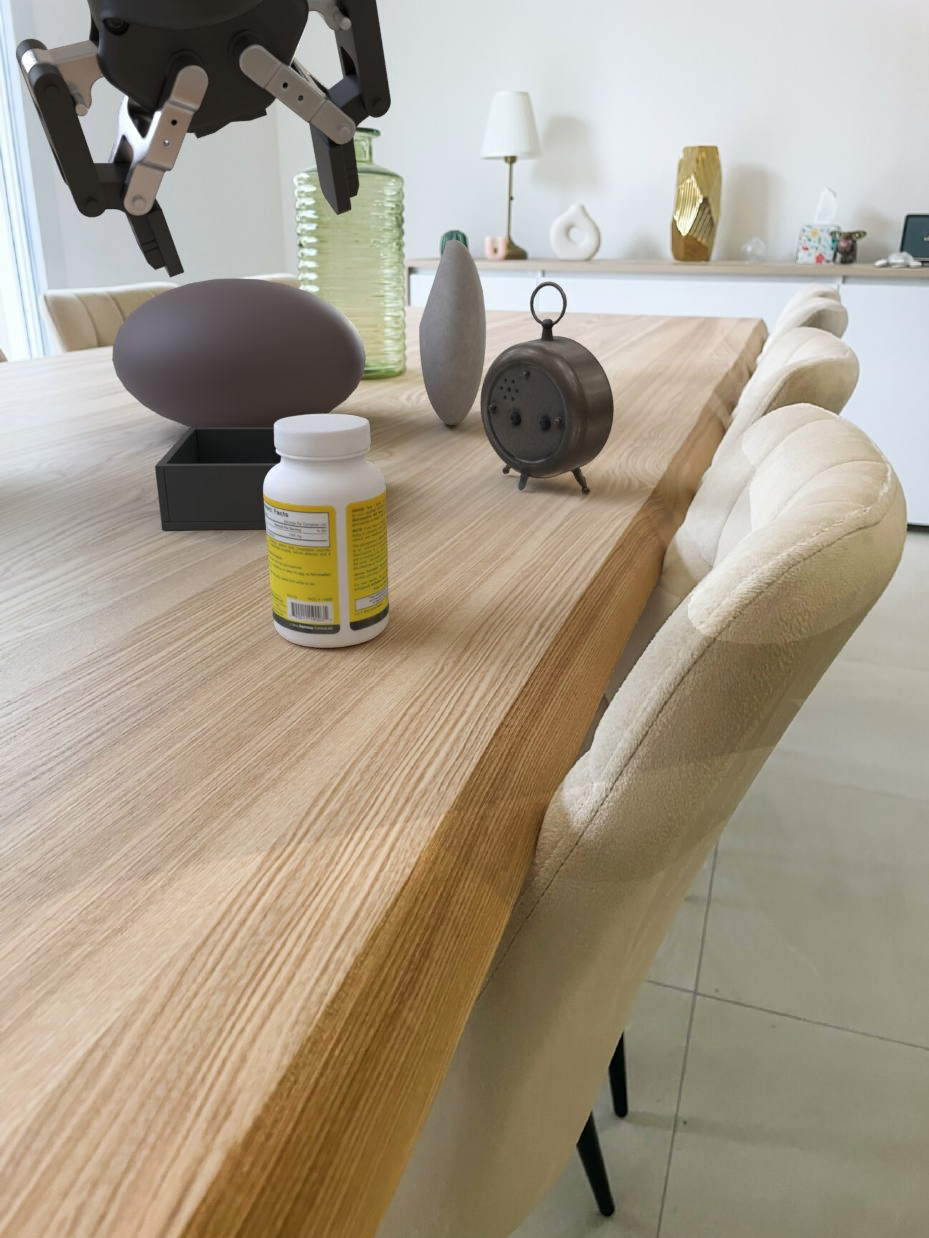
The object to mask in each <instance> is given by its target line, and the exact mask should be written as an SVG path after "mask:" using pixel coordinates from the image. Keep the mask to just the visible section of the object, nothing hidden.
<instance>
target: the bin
mask: <svg viewBox="0 0 929 1238" xmlns="http://www.w3.org/2000/svg"><path fill="white" fill-rule="evenodd" d="M280 462H281V456H280V455H279V454H277V453H276V447H275V445H274V427H197V428H196V427H189V428H187V430H186V431H185V432H184V433H183V434H181V436H180V438H178V440H177V441H176V442H175V443H174V444H173V445H172V446H171V447H170V449H169V450H168V451H167V452H165V454H164V455H163V456H162V457H161V458H160V460H158V462H157V463H156V464H155V465H154V471H155V480H156V487H157V495H158V496H157V498H158V505H159V515H160V523H161V525H160V526H161V530H162V531H204V530H205V531H207V530H208V531H209V530H213V531H215V530H216V531H217V530H222V531H223V530H225V531H226V530H266V521H265V509H264V497H263V484H264V480H265V477H266V475H267V474H268V472H269V471H270V470H271V469H272V468H273V467H274V466H275V465H277V464H278V463H280Z"/></svg>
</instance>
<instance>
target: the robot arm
mask: <svg viewBox="0 0 929 1238" xmlns="http://www.w3.org/2000/svg"><path fill="white" fill-rule="evenodd" d="M86 1H87V4H88V8H89V15H90V29H89V33H88V39H87V40H83V41H78V42H75V43H71V44H66V45H61V46H58V47H54V48H50V49H49V48H48V47H47V46H46V45H45V44H44V43H43V42H42V41H41V40H39V39H37V38H27V39H24V40H22V41H20V42H19V43H18V45H17V46H16V49H15V58H16V60H17V63H18V66H19V69H20V72H21V74H22V76H23V79H24V82H25V85H26V87H27V90H28V92H29V96H30V97H31V101H32V103H33V105H34V108H35V111H36V113H37V116H38V119H39V122H40V124H41V127H42V129H43V132H44V134H45V137H46V140H47V142H48V145H49V147H50V151H51V152H52V153H51V154H52V155H53V157H54V158H53V159H54V161H55V163H56V166H57V169H58V171H59V174H60V176H61V178H62V180H63V182H64V184H65V185H66V186H67V188H68V189H69V192H70V194H71V196H72V199H73V202H74V204H75V206H76V208H77V211H78V212H79V213H80V214H81V215H82V216H83V217H87V218H98V217H100V216H101V215H103V214H104V213H105V212H106V210H117V211H120V212H122V213H124V214H125V217H126V219H127V222H128V225H129V226H130V229H131V231H132V234H133V236H134V239H135V241H136V244H137V245H138V247H139V250H140V251H141V253H142V255H143V258H145V261H146V263H147V264H148V265H149V266H150V267H151V268H153V270H154V271H158V270H160V269H162V268H164V269H165V271H166V274H167V275H168V277H169V278H170V279H171V278H173V277H177V276H178V275H181V274H185V270H184V267H183V263H182V261H181V258H180V255H179V252H178V250H177V248H176V245H175V242H174V239H173V236H172V234H171V230H170V227H169V225H168V223H167V222H168V221H167V219H166V217H165V213H164V211H163V208H162V206H161V205H160V203H159V202H158V200H157V198H156V197H157V195H158V192H159V189H160V187H161V183H162V181H163V178H164V176H165V173H166V172H171V171H172V170H173V169H174V167H175V164H176V163H177V159H178V156H179V154H180V151H181V149H182V146H183V143H184V140H185V137H186V135H187V134H194V136H195V137H196V139H197V140H198V139H201V138H204V137H206V136H210V135H213V134H216V133H217V132H219V131H221V130H222V129H224V128H225V127H226V126H227V125H229V124H231V123H238V122H251V121H254V120H256V119H260V118H263V117H266V116H268V113H267V108H269V107H270V106H271V105H273V103H274V102H275V101H276V100H278V101H280V103H282V104H283V105H284V106H286V107H287V108H288V109H289V110H291V111H292V112H293V113H295V115H297V116H298V117H299V118H301V119H302V120H303V121H305V123H307V124H308V126H309V131H310V137H311V142H312V149H313V154H314V158H315V166H316V171H317V178H318V183H319V187H320V190H321V193H322V195H323V197H324V199H325V200H326V201H327V203H328V205H329V206H330V208H331V209H332V210H333V212H334V213H335V215H337V216H339V215H343V214H344V213H345V214H346V213H347V212H351V211H352V201H351V199H352V198H355V197H357V196H358V193H359V188H360V178H359V177H360V176H359V170H358V163H357V156H356V147H355V140H354V138H355V134H356V131H357V128H358V127H359V125H360V124H361V123H362V122H363V121H365V120H366V119H368V118H369V117H371V118H375V119H378V118H381V117H383V116H385V115H386V114H387V112H388V111H389V110H390V108H391V105H392V99H391V91H390V84H389V78H388V71H387V64H386V63H387V62H386V57H385V51H384V45H383V38H382V37H383V36H382V32H381V31H382V29H381V24H380V16H379V10H378V5H377V4H378V3H377V0H86ZM310 12H316V13H317V14H318V16H319V17H320V18H321V19H322V20H323V22H324V23H325V24H326V25H327V27H328V28H329V29H330V30H332V31H333V32H334V38H335V43H336V48H337V53H338V58H339V64H340V68H341V69H340V70H341V73H342V79H340V80H339V81H338V82H336V83H335V84H334V85H332V86H331V87H327V86H326V85H325V84H324V83H322V81H320V79H318V78H317V77H316V76H315V75H313V74H312V73H311V72H310V71H309V70H308V69H307V68H306V67H305V66H303V64H302V63H301V62H300V61H299V60H298V59H297V58H296V57H295V56H296V53H297V51H298V48H299V45H300V43H301V41H302V38H303V36H304V33H305V31H306V28H307V25H308V22H309V19H310V18H309V17H310ZM102 78H104V79H105V81H107V82H108V83H109V84H110V85H111V86H112V87H113V88H115V89H117V90H118V91H119V92H120V93H122V94H123V95H122V99H121V101H120V105H119V108H118V111H117V128H118V129H117V133H116V136H115V139H114V143H113V145H112V148H111V151H110V154H109V156H108V157H109V158H108V160H107V162H94V159H93V156H92V154H91V150H90V148H89V145H88V142H87V139H86V136H85V133H84V130H83V127H82V125H81V121H80V118H79V117H85V116H87V115H88V112H89V110H90V109H91V107H92V104H93V98H92V97H93V96H92V89H93V86H94V84H95V83H96V82H97V81H98V80H100V79H102Z"/></svg>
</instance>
